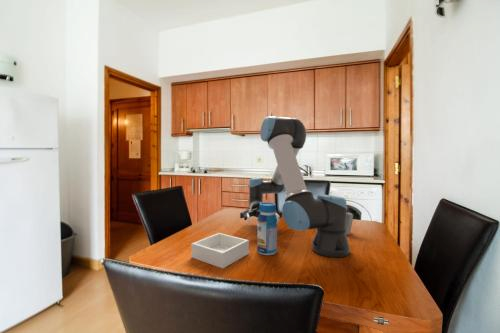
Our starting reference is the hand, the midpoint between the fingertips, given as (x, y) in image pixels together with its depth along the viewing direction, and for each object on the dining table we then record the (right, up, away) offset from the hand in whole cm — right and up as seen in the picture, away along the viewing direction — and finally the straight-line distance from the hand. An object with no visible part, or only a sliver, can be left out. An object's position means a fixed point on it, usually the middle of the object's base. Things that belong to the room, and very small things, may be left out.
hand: (263, 219), depth 111 cm
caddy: (-18, -12, -13) cm, 25 cm away
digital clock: (+39, -11, +19) cm, 45 cm away
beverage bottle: (+1, -12, -9) cm, 14 cm away
